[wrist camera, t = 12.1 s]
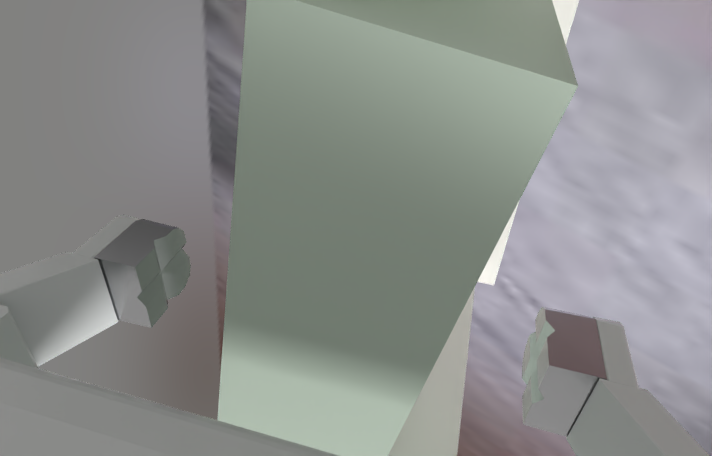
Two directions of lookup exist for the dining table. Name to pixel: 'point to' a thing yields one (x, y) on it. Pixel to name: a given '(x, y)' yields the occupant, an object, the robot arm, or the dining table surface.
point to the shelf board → (373, 199)
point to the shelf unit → (456, 351)
